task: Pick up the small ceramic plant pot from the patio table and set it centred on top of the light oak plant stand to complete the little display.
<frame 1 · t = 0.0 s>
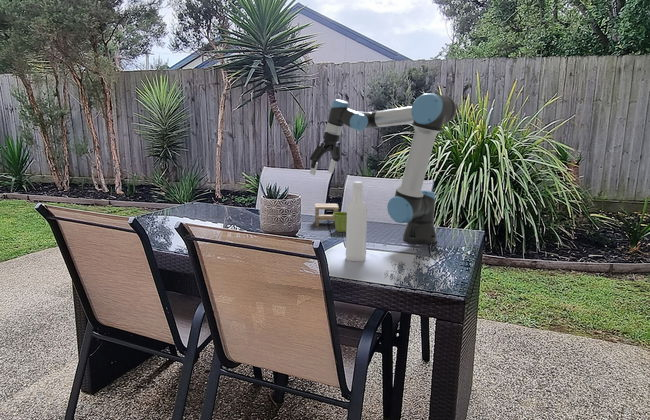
hand: (321, 173, 215), 28 cm above the table, tool tilted 20°, fingers open, 13 cm apart
plant stand: (326, 223, 230), on the table
bottle: (355, 259, 168), on the table
plant pot: (342, 231, 214), on the table
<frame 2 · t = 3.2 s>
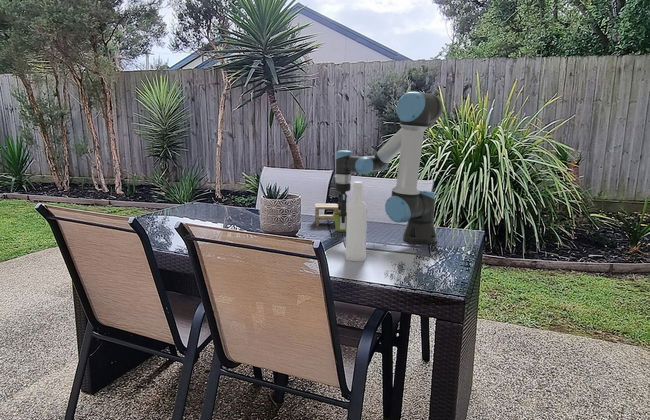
hand: (341, 225, 215), 2 cm above the table, tool pointing down, fingers open, 11 cm apart
plant pot: (342, 231, 214), on the table, touching gripper
everything else where it was.
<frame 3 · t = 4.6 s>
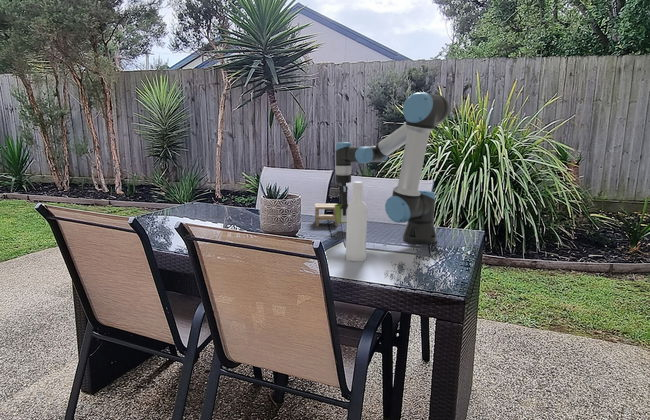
hand: (343, 220, 213), 6 cm above the table, tool pointing down, fingers closed on plant pot, 9 cm apart
plant pot: (343, 223, 213), point 4 cm above the table, touching gripper
everything else where it was.
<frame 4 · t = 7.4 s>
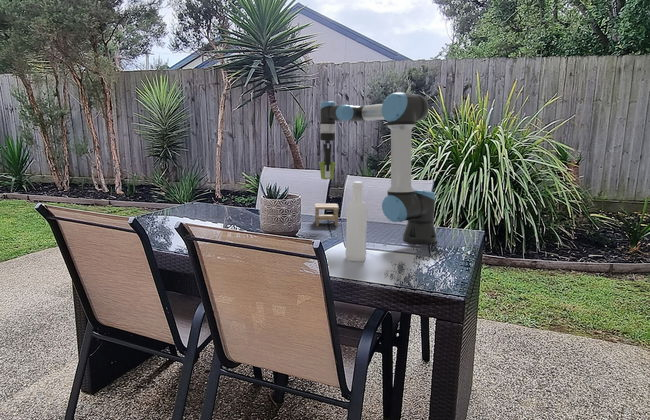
hand: (326, 176, 225), 25 cm above the table, tool pointing down, fingers closed on plant pot, 9 cm apart
plant pot: (327, 179, 225), point 24 cm above the table, touching gripper
everything else where it was.
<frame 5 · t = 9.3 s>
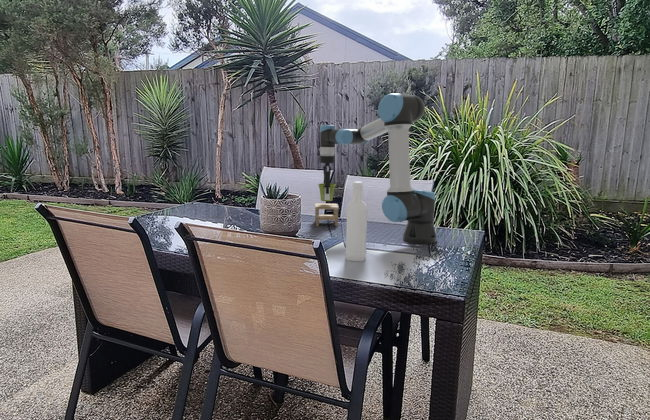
hand: (326, 198, 227), 14 cm above the table, tool pointing down, fingers closed on plant pot, 9 cm apart
plant pot: (326, 201, 227), point 12 cm above the table, touching gripper
everything else where it was.
when the fingers open (11 cm above the table, at t = 10.4 s): plant pot stays where it is, resting on plant stand.
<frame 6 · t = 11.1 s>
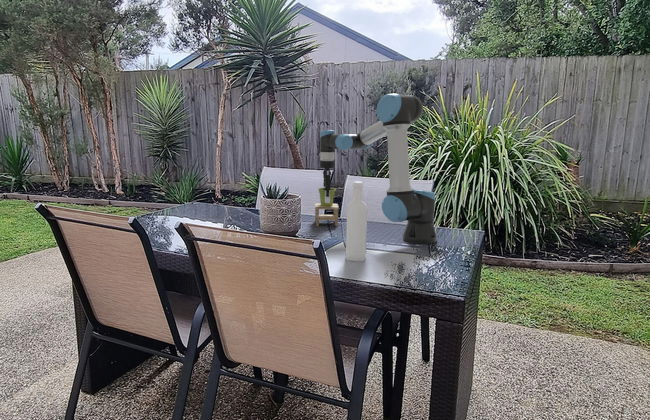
hand: (326, 200, 227), 12 cm above the table, tool pointing down, fingers open, 13 cm apart
plant pot: (326, 205, 228), point 10 cm above the table, touching plant stand
everything else where it was.
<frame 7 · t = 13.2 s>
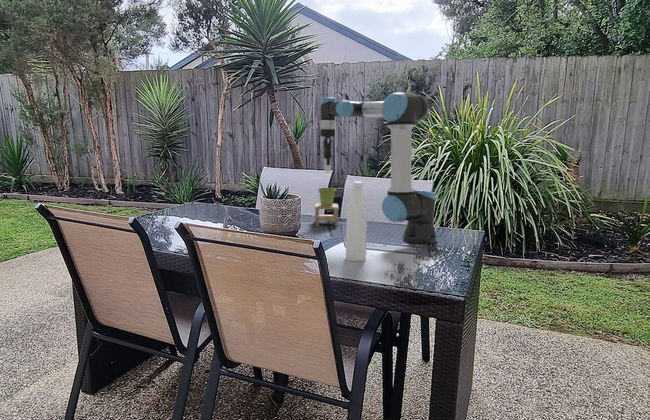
hand: (327, 170, 224), 28 cm above the table, tool pointing down, fingers open, 13 cm apart
nothing on the table moved.
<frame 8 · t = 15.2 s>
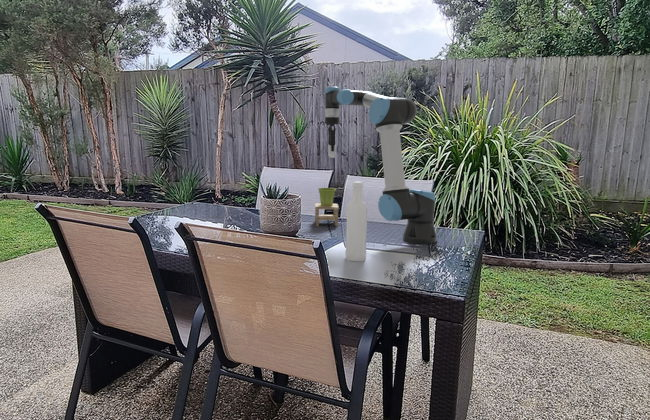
hand: (331, 156, 235), 35 cm above the table, tool pointing down, fingers open, 13 cm apart
nothing on the table moved.
at the end: plant pot inside the target area on the plant stand (0.1 cm from its centre), point 9.8 cm above the plant stand's base; plant pot tilted 0°; the gripper is holding nothing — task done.
